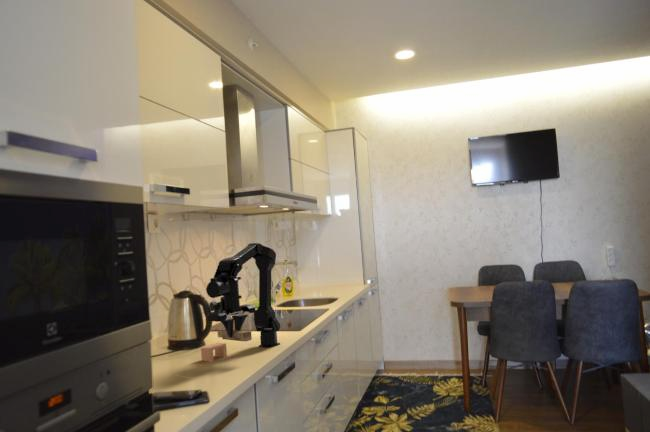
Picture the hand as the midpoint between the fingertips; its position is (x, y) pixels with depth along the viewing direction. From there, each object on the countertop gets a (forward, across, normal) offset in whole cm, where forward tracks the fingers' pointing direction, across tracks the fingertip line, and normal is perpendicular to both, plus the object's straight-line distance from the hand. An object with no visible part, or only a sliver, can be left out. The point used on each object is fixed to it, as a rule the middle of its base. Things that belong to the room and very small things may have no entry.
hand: (234, 336), depth 173 cm
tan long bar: (+1, 0, 0) cm, 1 cm away
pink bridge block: (+9, 0, -12) cm, 15 cm away
